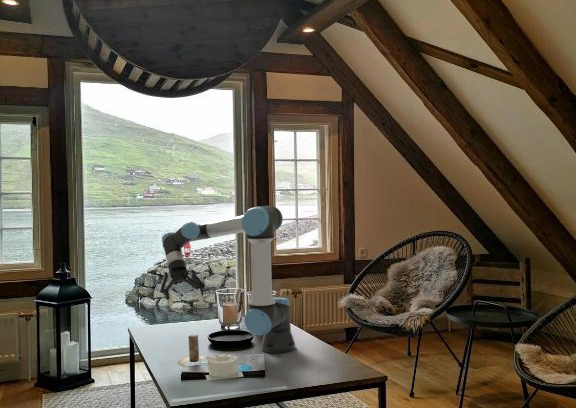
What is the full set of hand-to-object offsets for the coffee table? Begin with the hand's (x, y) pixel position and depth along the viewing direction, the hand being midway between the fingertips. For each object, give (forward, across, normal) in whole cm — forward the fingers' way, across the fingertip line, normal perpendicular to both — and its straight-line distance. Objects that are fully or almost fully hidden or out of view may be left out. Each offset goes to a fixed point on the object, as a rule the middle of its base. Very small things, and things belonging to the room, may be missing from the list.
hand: (187, 304), depth 246 cm
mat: (+36, -4, +7) cm, 37 cm away
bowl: (+36, -4, +7) cm, 37 cm away
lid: (+23, -1, -10) cm, 25 cm away
